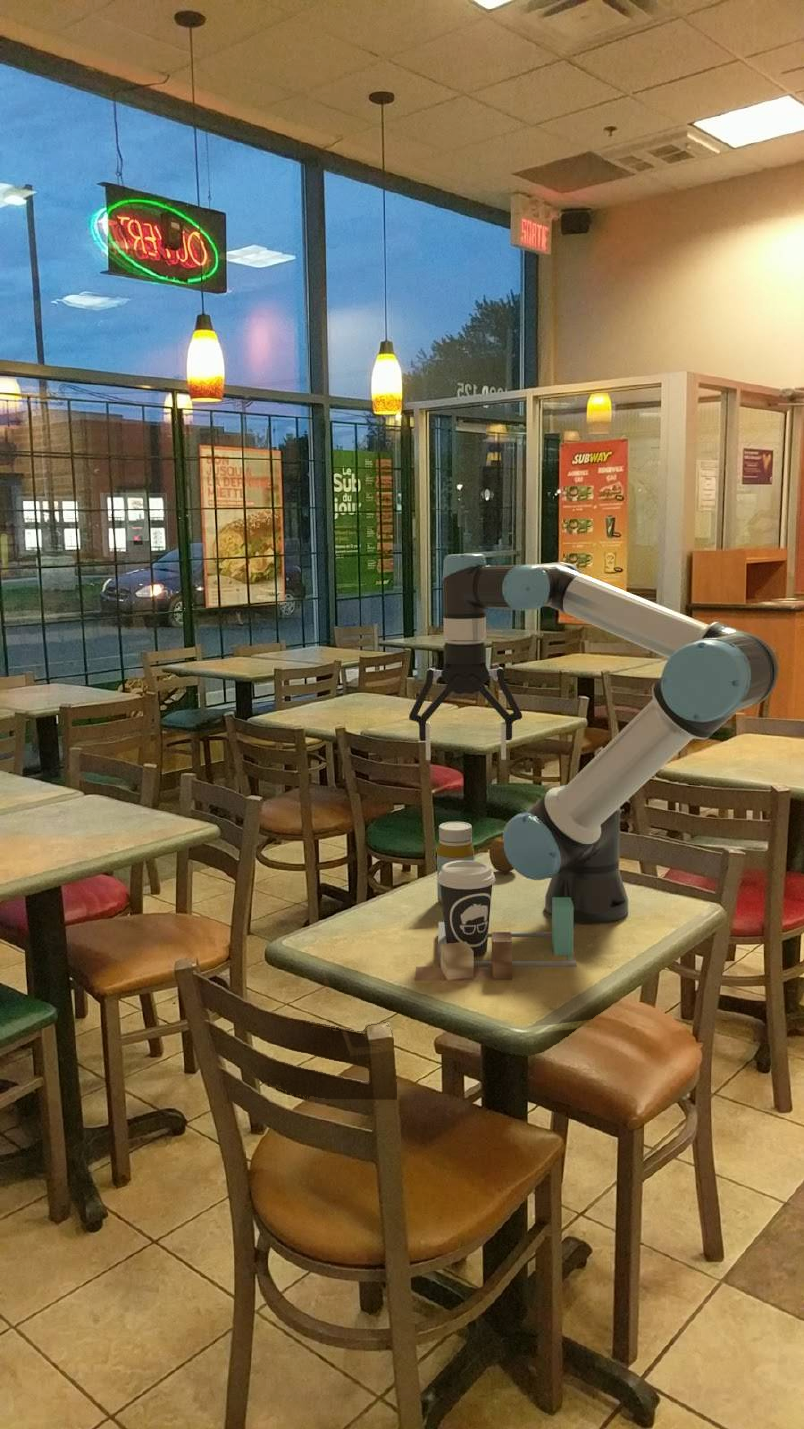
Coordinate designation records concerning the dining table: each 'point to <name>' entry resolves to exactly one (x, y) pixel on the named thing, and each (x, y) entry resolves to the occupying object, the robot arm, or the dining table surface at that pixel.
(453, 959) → the maple block
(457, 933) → the coffee cup
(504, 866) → the fruit
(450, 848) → the bottle
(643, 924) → the dining table surface
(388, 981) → the dining table surface
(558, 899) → the grey rectangular frame
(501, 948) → the wooden l-shaped block
